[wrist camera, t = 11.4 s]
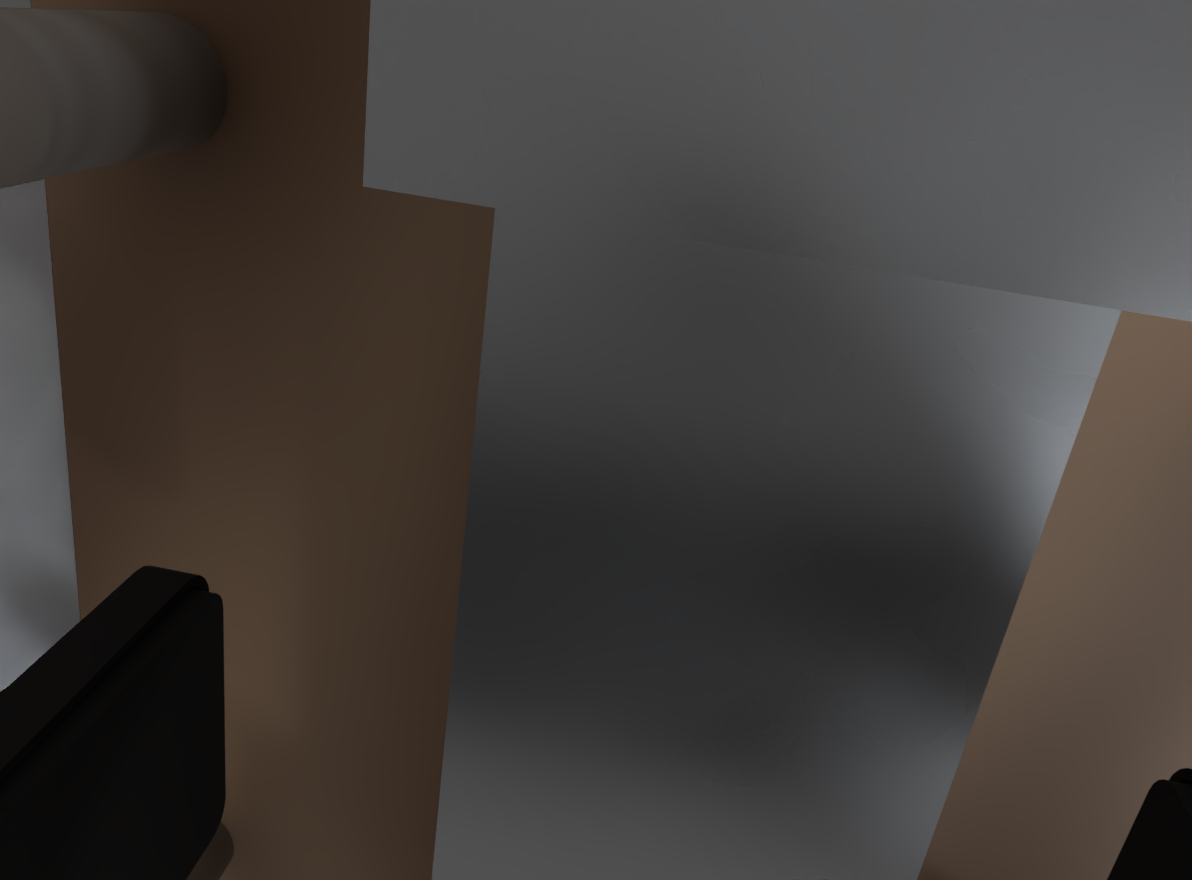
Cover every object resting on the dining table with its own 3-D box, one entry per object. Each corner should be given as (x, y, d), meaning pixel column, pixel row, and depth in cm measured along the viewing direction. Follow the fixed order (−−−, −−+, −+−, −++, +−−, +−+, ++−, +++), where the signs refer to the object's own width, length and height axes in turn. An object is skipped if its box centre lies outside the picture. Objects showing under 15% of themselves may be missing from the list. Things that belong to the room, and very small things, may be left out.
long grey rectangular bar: (1136, -167, 9) (1569, -375, 4) (743, 1120, 16) (746, 1561, 11) (563, -242, 9) (392, -516, 5) (429, 1051, 16) (309, 1451, 12)
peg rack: (1685, -186, 9) (2425, -353, 5) (1030, 1136, 17) (1122, 1479, 13) (90, -396, 10) (-329, -671, 6) (158, 943, 18) (-8, 1208, 14)
